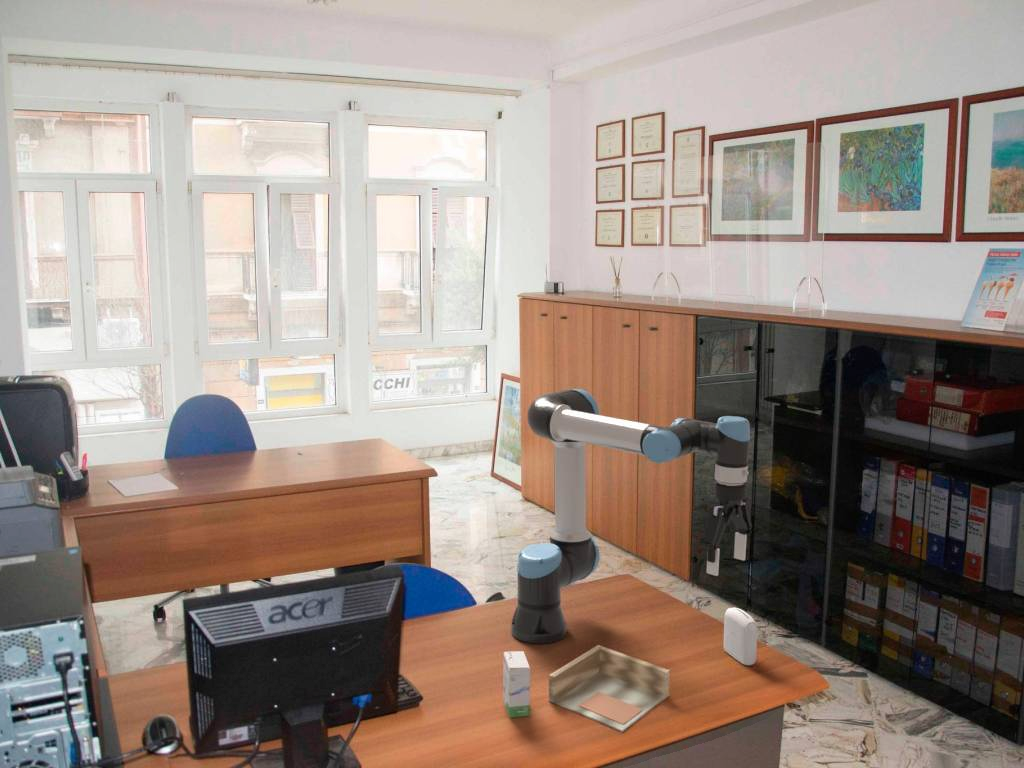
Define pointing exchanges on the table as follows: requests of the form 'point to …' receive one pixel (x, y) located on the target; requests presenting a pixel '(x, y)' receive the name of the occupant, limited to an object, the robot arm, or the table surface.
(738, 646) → the photo printer
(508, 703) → the ink box
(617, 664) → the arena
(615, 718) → the pad
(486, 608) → the table surface
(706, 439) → the robot arm
